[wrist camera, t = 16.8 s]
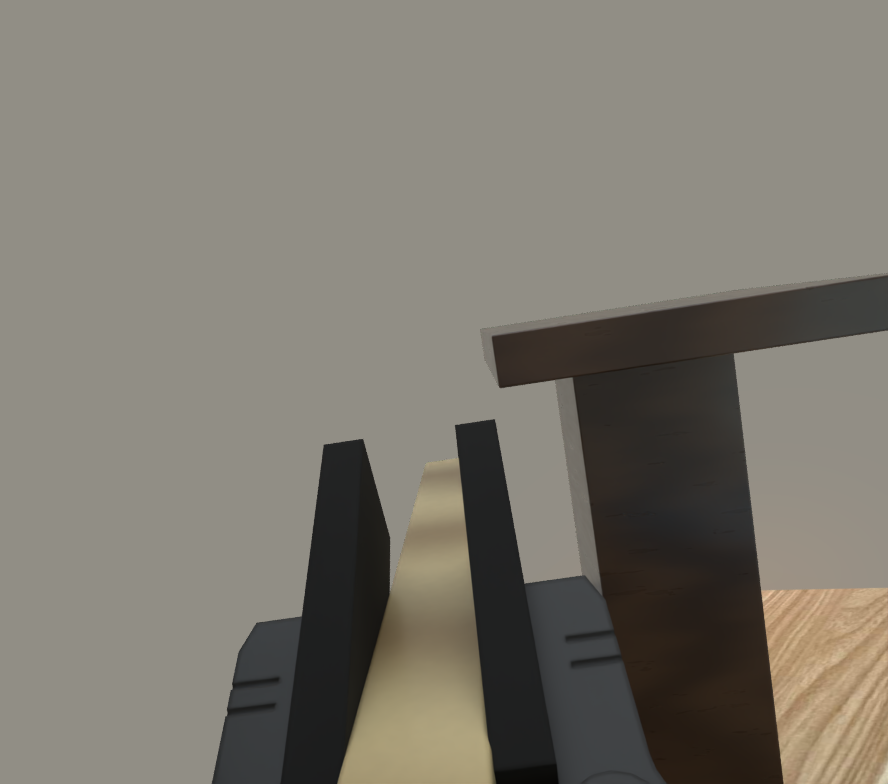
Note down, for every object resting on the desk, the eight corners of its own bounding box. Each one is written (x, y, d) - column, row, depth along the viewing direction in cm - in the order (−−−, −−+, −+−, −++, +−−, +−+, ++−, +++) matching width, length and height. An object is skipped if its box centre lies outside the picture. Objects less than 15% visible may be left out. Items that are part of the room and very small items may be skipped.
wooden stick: (519, 975, 8) (495, 812, 7) (347, 996, 8) (318, 835, 7) (479, 502, 27) (472, 455, 27) (432, 509, 28) (425, 462, 27)
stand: (623, 1238, 23) (491, 335, 20) (560, 876, 38) (479, 328, 35) (1015, 1199, 22) (930, 268, 20) (795, 848, 37) (730, 290, 35)
